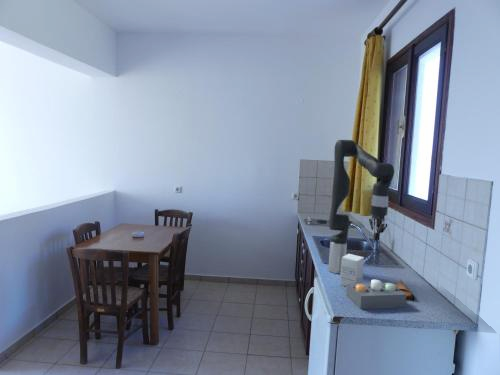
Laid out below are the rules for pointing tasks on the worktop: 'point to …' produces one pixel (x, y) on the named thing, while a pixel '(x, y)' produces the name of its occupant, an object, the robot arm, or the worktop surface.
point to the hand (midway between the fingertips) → (376, 240)
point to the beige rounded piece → (361, 288)
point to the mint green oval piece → (390, 287)
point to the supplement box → (351, 269)
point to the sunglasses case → (405, 290)
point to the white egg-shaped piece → (376, 285)
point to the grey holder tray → (375, 297)
